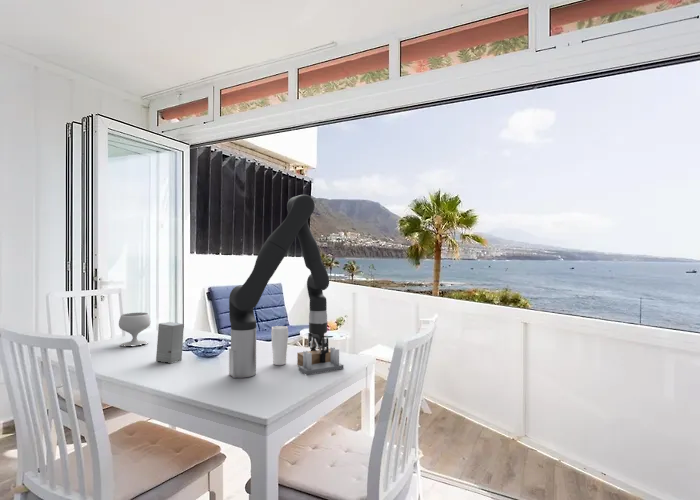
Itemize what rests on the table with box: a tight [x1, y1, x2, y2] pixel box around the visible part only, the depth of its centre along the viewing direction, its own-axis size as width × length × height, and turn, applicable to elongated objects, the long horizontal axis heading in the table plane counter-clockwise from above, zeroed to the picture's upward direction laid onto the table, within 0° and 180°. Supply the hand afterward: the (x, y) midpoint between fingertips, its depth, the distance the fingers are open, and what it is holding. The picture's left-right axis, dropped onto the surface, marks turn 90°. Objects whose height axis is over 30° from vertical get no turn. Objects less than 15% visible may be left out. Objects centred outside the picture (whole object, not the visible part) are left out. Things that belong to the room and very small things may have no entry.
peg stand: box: [298, 346, 345, 376], centre depth 159 cm, size 16×7×8 cm, turn 121°
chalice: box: [118, 312, 151, 347], centre depth 202 cm, size 14×14×15 cm
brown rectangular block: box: [296, 347, 331, 367], centre depth 168 cm, size 16×6×5 cm, turn 120°
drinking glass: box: [270, 325, 289, 366], centre depth 167 cm, size 7×7×15 cm
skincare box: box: [155, 321, 185, 364], centre depth 172 cm, size 8×7×16 cm
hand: (317, 360), depth 168 cm, fingers open, 8 cm apart
